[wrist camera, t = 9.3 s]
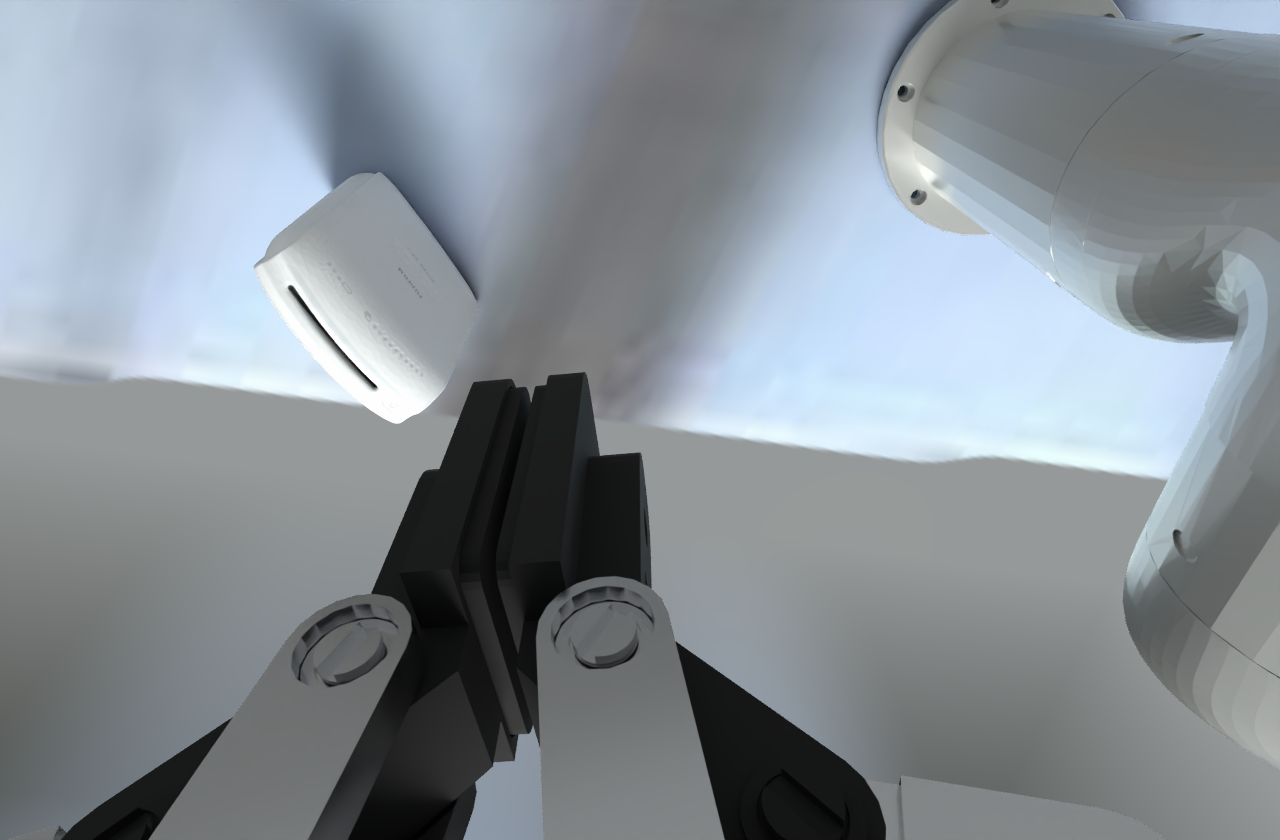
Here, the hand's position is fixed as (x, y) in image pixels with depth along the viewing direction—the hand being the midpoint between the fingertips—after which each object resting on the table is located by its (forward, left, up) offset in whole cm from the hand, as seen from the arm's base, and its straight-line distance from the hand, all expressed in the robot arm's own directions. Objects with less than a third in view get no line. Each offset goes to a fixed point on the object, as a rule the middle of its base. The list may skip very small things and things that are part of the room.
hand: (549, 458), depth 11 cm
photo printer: (+10, +10, -31) cm, 34 cm away
